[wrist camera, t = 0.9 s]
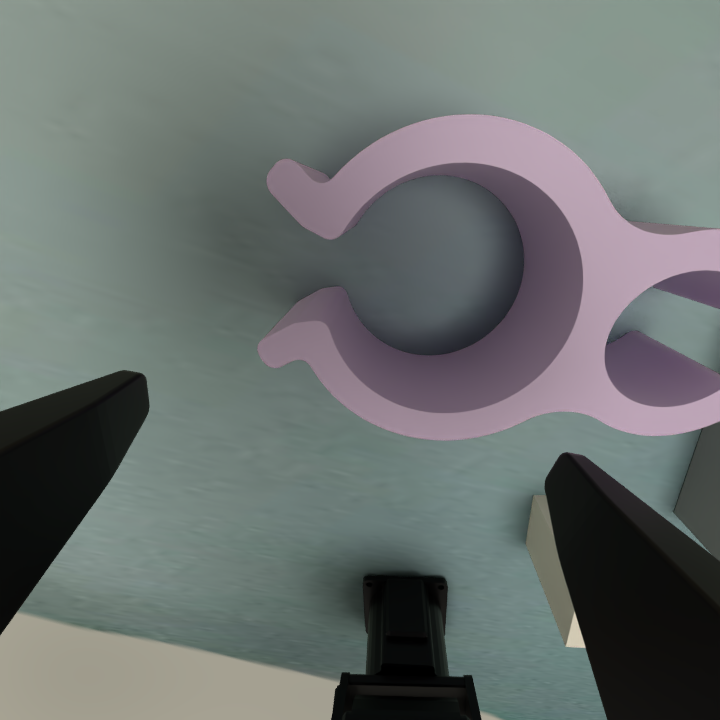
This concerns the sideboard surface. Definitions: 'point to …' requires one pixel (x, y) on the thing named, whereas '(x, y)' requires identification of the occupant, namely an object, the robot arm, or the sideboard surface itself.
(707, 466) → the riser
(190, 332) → the sideboard surface
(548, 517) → the block
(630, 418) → the clip
